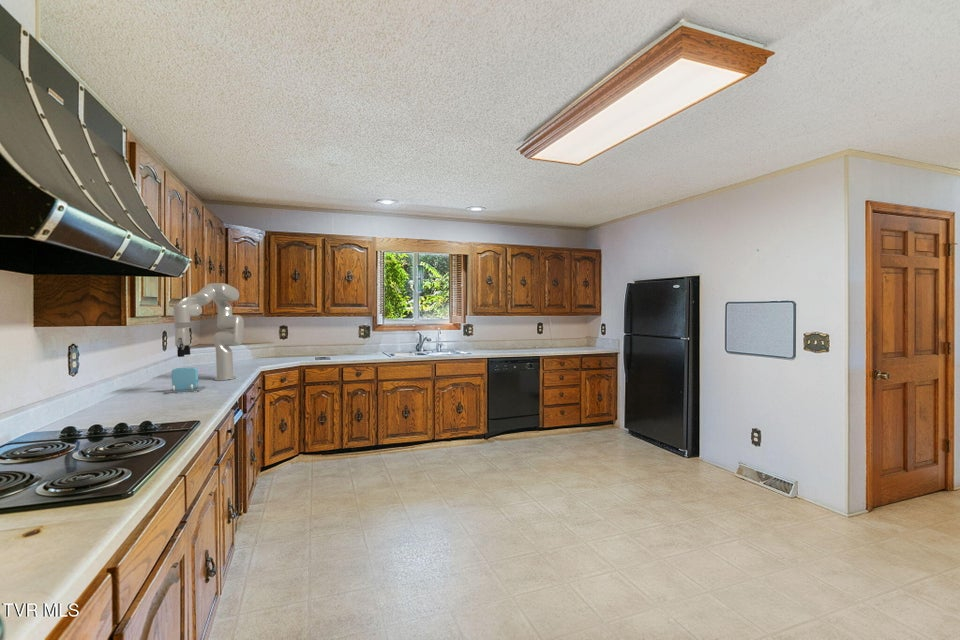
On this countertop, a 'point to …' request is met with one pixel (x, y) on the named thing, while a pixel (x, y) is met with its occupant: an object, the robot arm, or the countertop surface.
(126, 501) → the countertop surface
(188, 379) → the light blue rounded slab
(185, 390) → the pin tray
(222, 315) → the robot arm
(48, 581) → the countertop surface
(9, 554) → the countertop surface
